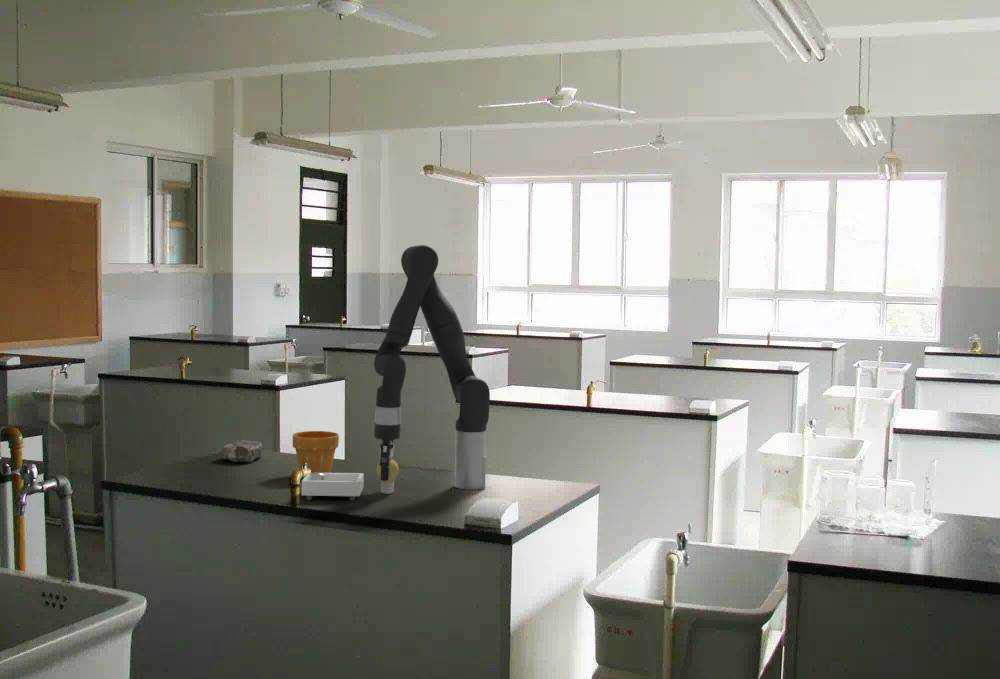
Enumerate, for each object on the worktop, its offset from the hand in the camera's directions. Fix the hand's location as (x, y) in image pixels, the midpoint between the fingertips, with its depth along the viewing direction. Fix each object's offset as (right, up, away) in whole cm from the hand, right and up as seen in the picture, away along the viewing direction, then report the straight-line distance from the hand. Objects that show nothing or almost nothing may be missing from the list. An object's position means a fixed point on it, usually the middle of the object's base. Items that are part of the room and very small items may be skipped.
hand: (385, 477), depth 290 cm
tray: (-14, -5, -5) cm, 16 cm away
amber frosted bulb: (0, -5, 0) cm, 5 cm away
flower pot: (-25, -3, +22) cm, 33 cm away
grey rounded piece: (-19, -2, -6) cm, 20 cm away
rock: (-53, -1, +45) cm, 69 cm away
